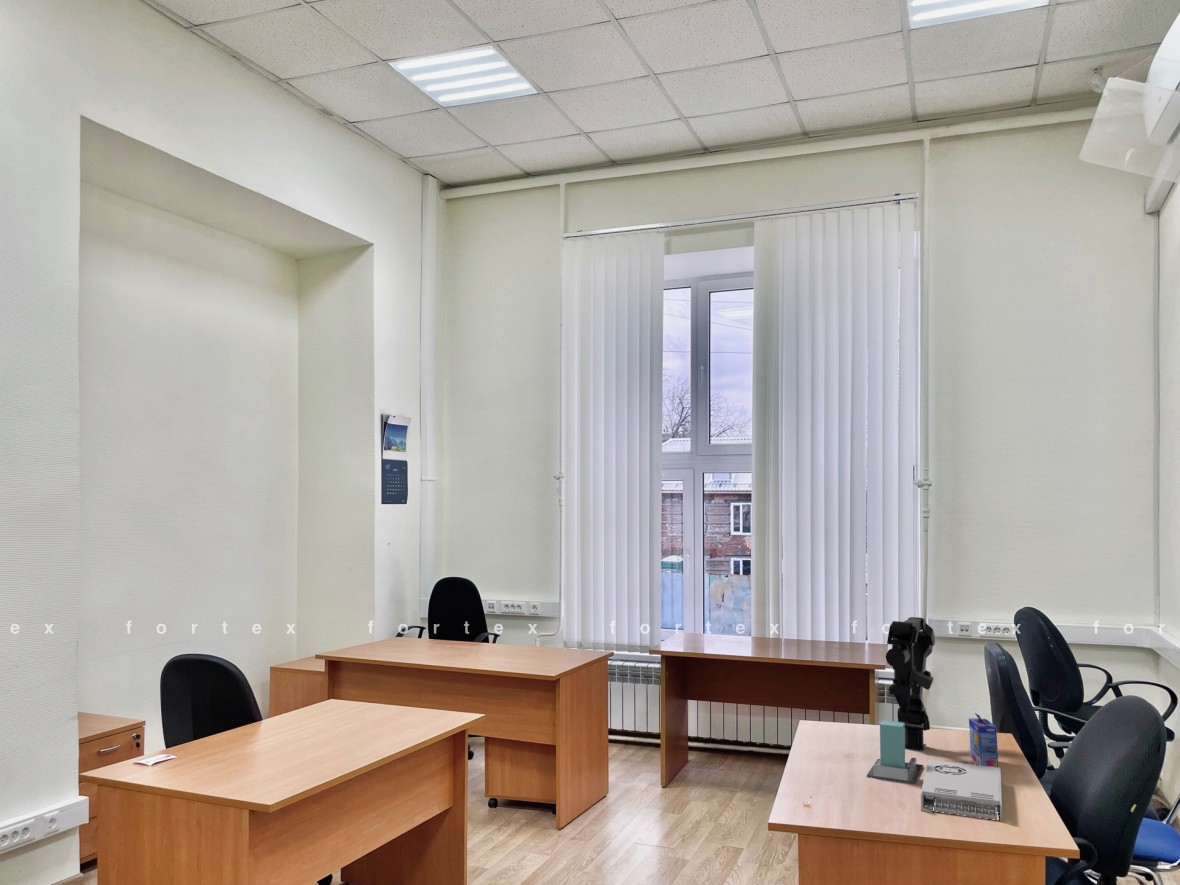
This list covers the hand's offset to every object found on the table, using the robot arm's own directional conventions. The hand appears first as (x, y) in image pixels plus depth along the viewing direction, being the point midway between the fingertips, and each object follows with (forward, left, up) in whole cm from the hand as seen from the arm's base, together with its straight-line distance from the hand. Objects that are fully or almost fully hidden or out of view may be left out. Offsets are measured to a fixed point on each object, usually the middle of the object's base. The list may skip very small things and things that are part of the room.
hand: (904, 713), depth 277 cm
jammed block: (+23, 0, -13) cm, 26 cm away
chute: (+18, 0, -13) cm, 22 cm away
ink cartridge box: (-4, +22, -13) cm, 26 cm away
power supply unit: (+32, +19, -14) cm, 40 cm away
